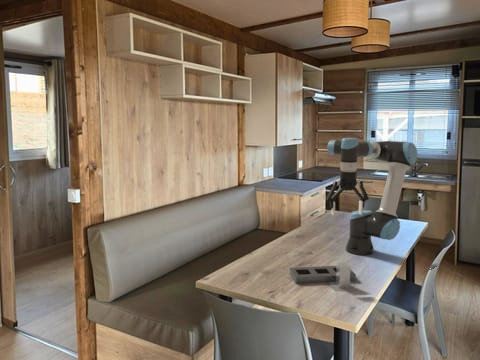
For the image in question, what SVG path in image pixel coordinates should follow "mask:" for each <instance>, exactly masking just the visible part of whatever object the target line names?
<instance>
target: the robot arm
mask: <svg viewBox="0 0 480 360" xmlns="http://www.w3.org/2000/svg"><path fill="white" fill-rule="evenodd" d="M326 147H327V149H326V150H327V152H328V153H329V155H334V156H340V172H339V173H340V174H339V175H340V176H339V181H338V180H337V181H336V180H333V182H332V186H331V188H330V191H329V192H328V193H327V196H326V198H325V200H327V201H328V202H329V208H330V209H331V216H333V217H335V216H336V202H335V201H336V199H337V198H338V197H339V196H341V194H342V193H343V192H344V191H345V192H346V191H353V193H355V194H356V196H357V197H358V198H359V199H360V200H359V201H358V210H354V211H351V212H350V215H349V217H350V218H349V237H348V239H347V242H346V245H345V251H346V252H347V253H349V254H352V255H353V254H354V255H359V256H360V255H361V256H366V255H367V256H368V255H371V254H374V252H375V251H374V249H375V247H374V245H373V241H372V237H374V238H377V239H382V240H388V241H391V240H394V239H395V238H396V237H397V236H398V234H399V232H400V228H401V222H400V220H399V219H398V218H399V217H398V215H397V213H396V212H397V209H398V206H399V200H400V197H401V192H402V188H403V185H404V181H405V176H406V173H407V171H408V170H410V169H411V165H414V164H415V163H416V162H417V160H418V150H417V149H418V148H417V146H416V145H415V144H414V143H413V142H410V141H409V142H408V141H393V140H383V141H366V140H362V141H360V140H359V139H358V138H356V137H344V138H342V139H339V140H338V139H331V140H329V142H328V143H327V146H326ZM365 157H367V158H368V159H370V160H378V161H382V162H387V164H388V167H389V168H388V173H387V177H386V181H385V185H384V188H383V193H382V195H381V200H380V205H379V208H378V209H377V210H376V211H375V212H374V214H373V211H372V210H369V209H363V208H365V202H366V201H368V200H369V196H368V194H367V191H366V189H365V187H364V181H363V180H361V179H359V180H357V177H358V176H357V175H358V174H357V173H358V172H357V170H358V169H357V168H358V158H365ZM338 186H339V187H338ZM356 186H358V188H359V189H360V191H359V190H358V189H357V187H356ZM337 188H338V189H337ZM360 192H361V193H360Z"/></svg>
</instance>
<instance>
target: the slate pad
mask: <svg viewBox="0 0 480 360" xmlns="http://www.w3.org/2000/svg"><path fill="white" fill-rule="evenodd" d="M327 283H328V285H330V287H331V288H332V289H333V291H335V292H352V291H354V292H355V291H358V289H357V288H356V287H355V286H354V285H353V284H352V282H350V288H340V289H339V287H338V286H337V285H336V282H327Z"/></svg>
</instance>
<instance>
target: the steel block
mask: <svg viewBox="0 0 480 360" xmlns="http://www.w3.org/2000/svg"><path fill="white" fill-rule="evenodd" d="M336 266H337V268H336V285H337V286H338V287H339V289H340V288H350V283H351V281H350V269H351V267H352V266H351V265H350V264H349V263H348V262H336Z"/></svg>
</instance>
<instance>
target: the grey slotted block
mask: <svg viewBox="0 0 480 360" xmlns="http://www.w3.org/2000/svg"><path fill="white" fill-rule="evenodd" d="M336 268H337V265H325V266H323V265H322V266H301V267H300V266H299V267H289V275H290V276H291V278H292V281H293V282H294V283H295V285H300V284H318V283H319V284H320V283H328V282H336ZM356 275H357V274H356V273H355V272H354V271H353V270H352V269H351V268H350V282H356V278H357V277H356Z"/></svg>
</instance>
